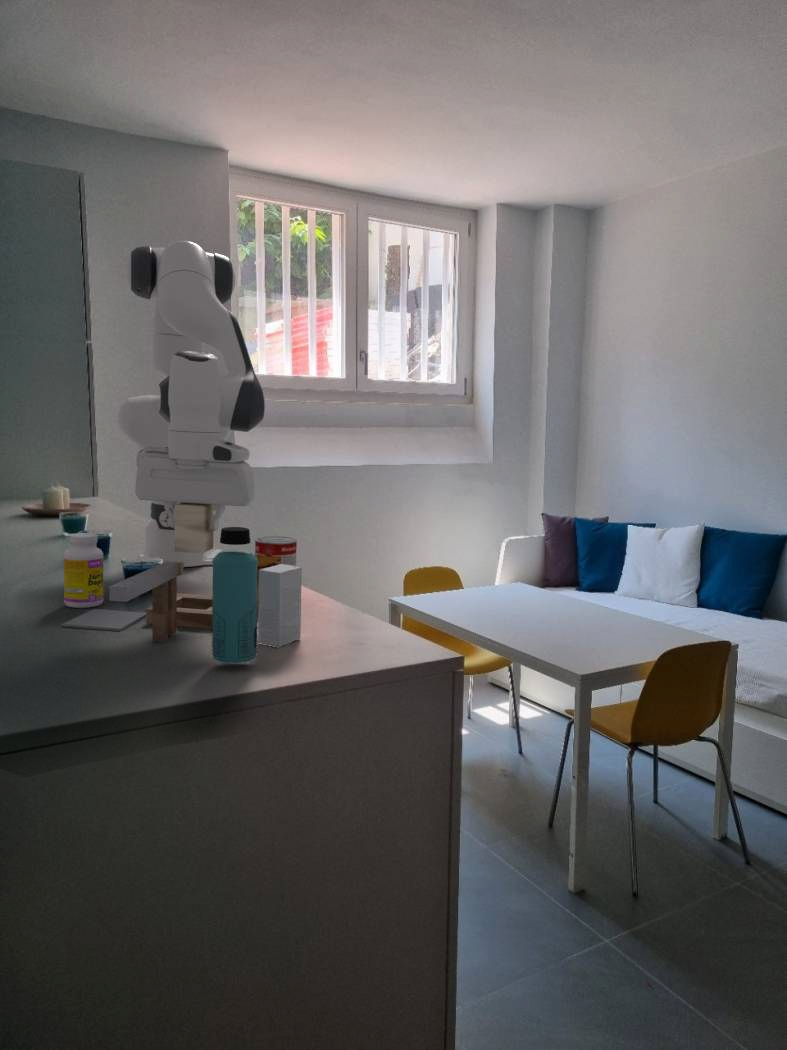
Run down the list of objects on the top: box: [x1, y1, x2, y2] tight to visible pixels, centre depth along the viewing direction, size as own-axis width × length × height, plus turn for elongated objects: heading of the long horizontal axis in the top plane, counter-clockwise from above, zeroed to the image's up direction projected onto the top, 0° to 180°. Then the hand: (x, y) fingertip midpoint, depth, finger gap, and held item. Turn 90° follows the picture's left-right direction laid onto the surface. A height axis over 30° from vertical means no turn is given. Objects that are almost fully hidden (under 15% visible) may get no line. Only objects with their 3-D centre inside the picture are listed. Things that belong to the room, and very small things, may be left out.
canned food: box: [254, 536, 298, 604], centre depth 143 cm, size 8×8×12 cm
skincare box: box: [257, 564, 302, 648], centre depth 117 cm, size 6×4×12 cm
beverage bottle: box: [210, 526, 259, 664], centre depth 104 cm, size 6×7×20 cm
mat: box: [62, 608, 146, 632], centre depth 125 cm, size 10×10×1 cm
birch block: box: [175, 503, 215, 553], centre depth 128 cm, size 5×5×8 cm
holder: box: [145, 576, 213, 643], centre depth 125 cm, size 21×12×9 cm, turn 173°
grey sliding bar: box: [109, 561, 184, 603], centre depth 110 cm, size 19×3×2 cm, turn 173°
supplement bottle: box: [63, 532, 104, 609], centre depth 134 cm, size 7×7×13 cm
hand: (194, 529), depth 128 cm, fingers closed on birch block, 5 cm apart
